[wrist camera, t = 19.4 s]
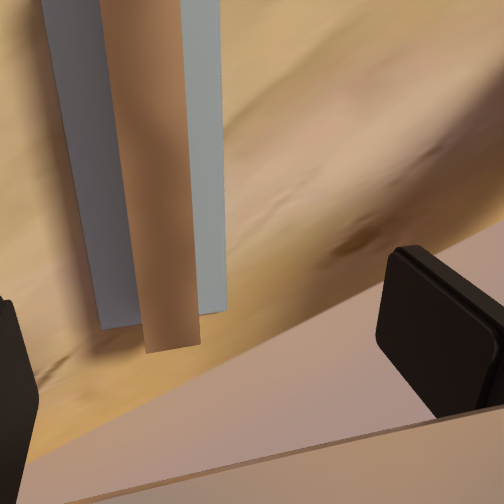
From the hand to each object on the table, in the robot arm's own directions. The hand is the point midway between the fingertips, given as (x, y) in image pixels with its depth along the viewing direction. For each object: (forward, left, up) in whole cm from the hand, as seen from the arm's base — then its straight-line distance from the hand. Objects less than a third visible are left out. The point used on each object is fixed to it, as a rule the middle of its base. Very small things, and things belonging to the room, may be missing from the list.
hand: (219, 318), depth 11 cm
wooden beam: (0, 0, -18) cm, 18 cm away
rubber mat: (0, 0, -18) cm, 18 cm away
